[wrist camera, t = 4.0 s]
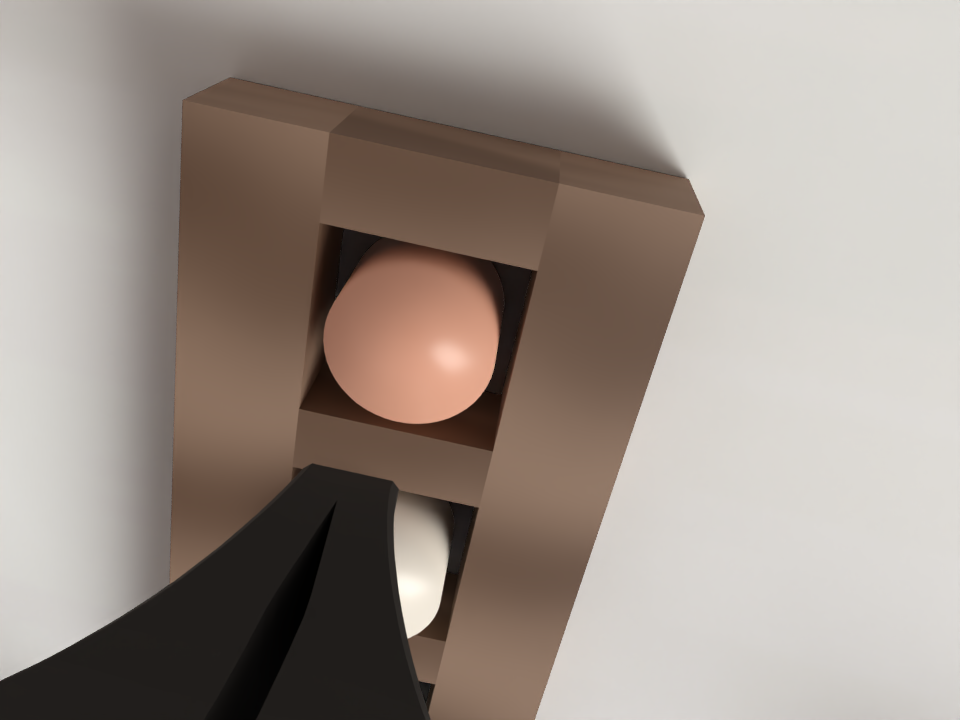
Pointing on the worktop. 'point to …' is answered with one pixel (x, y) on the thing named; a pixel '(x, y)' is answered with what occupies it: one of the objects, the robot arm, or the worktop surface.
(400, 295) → the terracotta button
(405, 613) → the cream button
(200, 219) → the button panel
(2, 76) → the worktop surface
